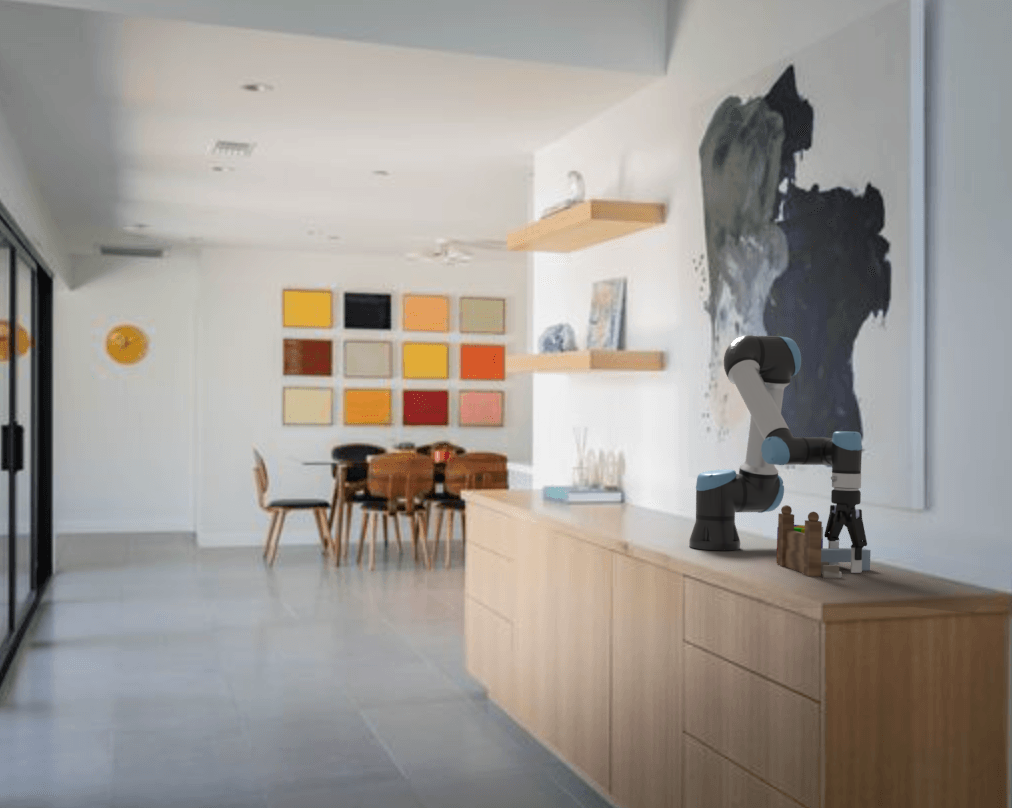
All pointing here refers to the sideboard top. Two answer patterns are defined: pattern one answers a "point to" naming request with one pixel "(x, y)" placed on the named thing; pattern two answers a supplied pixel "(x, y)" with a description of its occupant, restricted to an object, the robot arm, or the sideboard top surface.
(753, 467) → the robot arm
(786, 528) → the headboard
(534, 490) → the sideboard top surface
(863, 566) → the rail
